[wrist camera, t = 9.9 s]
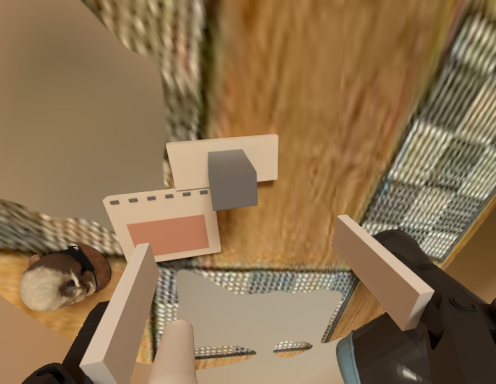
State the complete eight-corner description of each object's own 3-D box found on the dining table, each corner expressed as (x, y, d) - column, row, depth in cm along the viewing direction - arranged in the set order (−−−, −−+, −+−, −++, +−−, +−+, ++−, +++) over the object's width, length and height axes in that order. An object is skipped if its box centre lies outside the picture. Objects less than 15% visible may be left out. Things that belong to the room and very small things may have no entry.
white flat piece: (220, 246, 39) (221, 252, 38) (132, 260, 37) (129, 266, 36) (212, 184, 33) (212, 188, 32) (107, 196, 31) (102, 201, 30)
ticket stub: (274, 176, 35) (302, 210, 25) (177, 186, 32) (163, 229, 22) (275, 133, 32) (307, 153, 21) (167, 142, 29) (147, 168, 19)
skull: (127, 284, 38) (64, 340, 31) (102, 267, 44) (44, 311, 36) (91, 236, 32) (3, 291, 25) (67, 223, 38) (-11, 265, 31)
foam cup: (161, 313, 44) (145, 391, 33) (203, 316, 47) (203, 389, 35) (153, 340, 47) (136, 420, 36) (193, 342, 50) (189, 416, 39)
